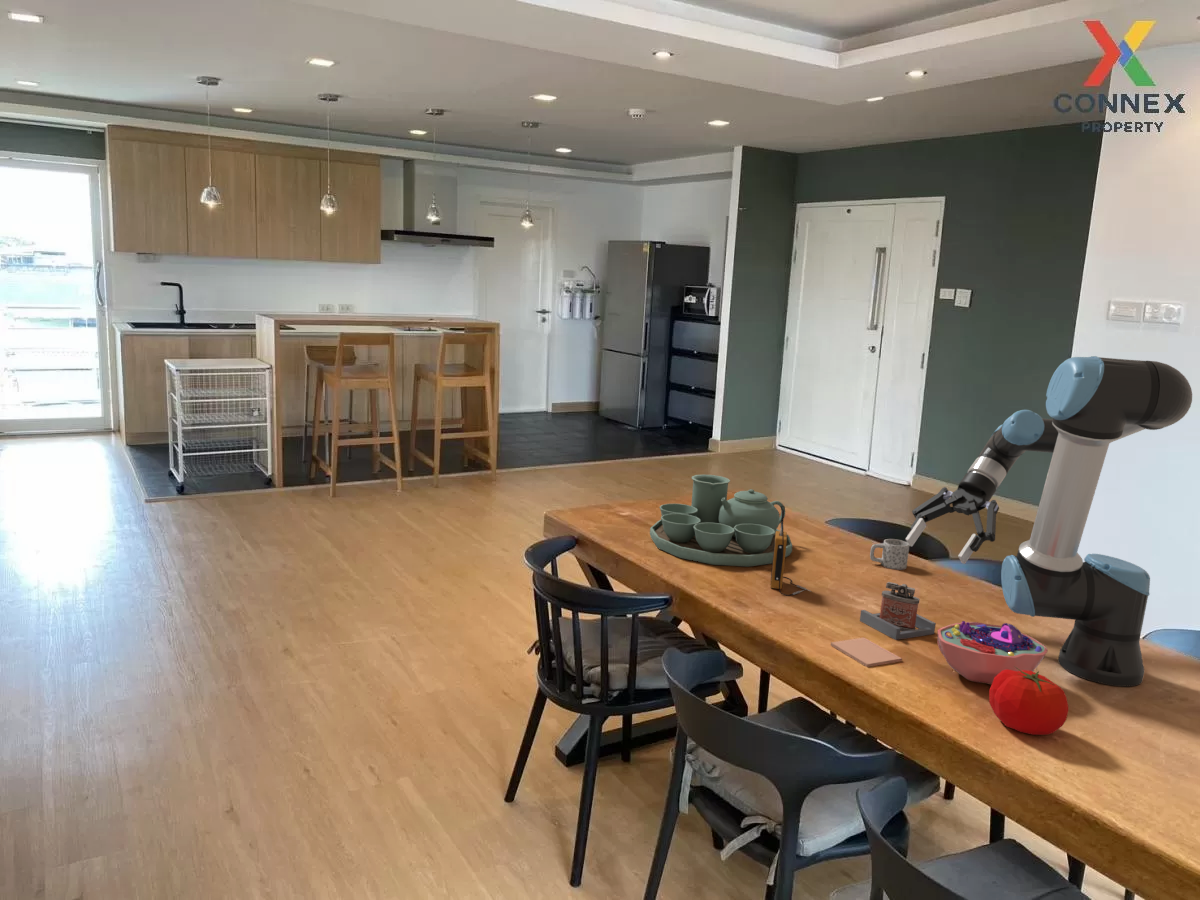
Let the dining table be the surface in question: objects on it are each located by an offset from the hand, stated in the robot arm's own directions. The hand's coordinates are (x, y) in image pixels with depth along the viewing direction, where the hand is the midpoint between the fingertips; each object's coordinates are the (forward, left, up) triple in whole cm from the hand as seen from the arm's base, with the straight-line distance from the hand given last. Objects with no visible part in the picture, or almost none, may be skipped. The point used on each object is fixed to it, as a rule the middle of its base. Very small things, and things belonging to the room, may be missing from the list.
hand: (934, 551), depth 199 cm
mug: (+34, -20, -16) cm, 43 cm away
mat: (-11, +28, -16) cm, 34 cm away
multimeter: (+27, +18, -16) cm, 36 cm away
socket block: (-2, +11, -16) cm, 19 cm away
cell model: (-28, +13, -16) cm, 35 cm away
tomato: (-45, +23, -16) cm, 53 cm away
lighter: (-2, +11, -16) cm, 20 cm away
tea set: (+62, +16, -17) cm, 66 cm away
